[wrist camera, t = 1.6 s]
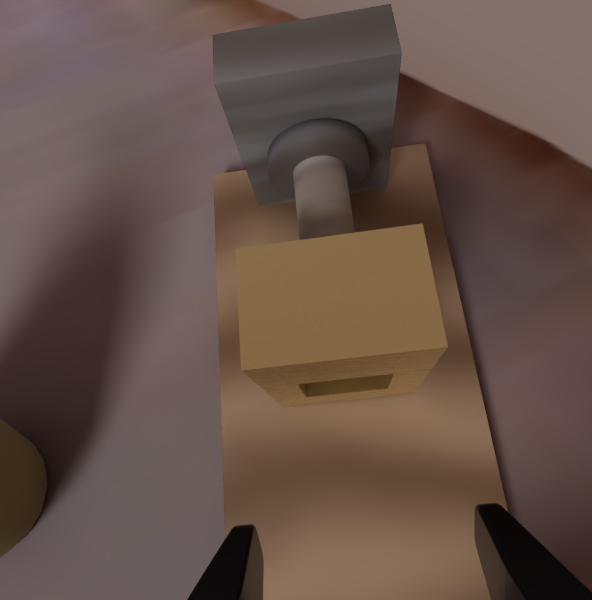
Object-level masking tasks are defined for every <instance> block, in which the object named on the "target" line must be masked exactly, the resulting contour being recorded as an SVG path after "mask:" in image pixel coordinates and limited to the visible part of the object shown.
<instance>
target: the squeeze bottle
mask: <svg viewBox="0 0 592 600" xmlns="http://www.w3.org/2000/svg"><path fill="white" fill-rule="evenodd" d="M46 490H47V477H46V469H45V462H44V460H43V458H42V457H41V455H40V453H39V452H38V450H37V448H36V447H35V445H34V444H33V443H32V442H31V441H29V440H28V439H27V438H25V437H24V436H23V435H22V434H20V433H19V432H18V431H16V430H15V429H14V428H12V427H11V426H10V425H8V424H7V423H6V422H4V421H3V420H2V419H0V558H1V557H2V556H3V555H4V554H6V553H7V552H8V551H9V550H11V549H12V548H13V547H14V546H15V545H16V544H17V543H19V542H20V541H21V540H22V539H23V538H24V537H25V536H27V535H28V533H29V532H30V530H31V528H32V527H33V525H34V523H35V522H36V520H37V518H38V516H39V515H40V513H41V511H42V508H43V503H44V499H45V494H46Z"/></svg>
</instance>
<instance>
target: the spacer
mask: <svg viewBox="0 0 592 600" xmlns="http://www.w3.org/2000/svg"><path fill="white" fill-rule="evenodd" d="M235 254H236V275H237V295H238V316H239V337H240V358H241V371H242V372H243V373H245V374H246V375H247V376H248V377H249V378H250V379H251V380H253V381H254V382H255V383H256V384H257V385H258V386H259V387H261V388H262V389H263V390H264V391H265V392H266V393H268V394H269V395H270V396H271V397H272V398H273V399H274V400H276V401H277V402H278V403H279V404H280V405H281V406H282V407H290V406H299V405H309V404H318V403H327V402H337V401H346V400H355V399H365V398H374V397H384V396H393V395H402V394H412V393H414V392H415V391H416V389H417V388H418V387H419V385H420V384H421V383H422V381H423V380H424V379H425V377H426V376H427V375H428V373H429V372H430V371H431V369H432V368H433V367H434V365H435V364H436V363H437V361H438V360H439V359H440V357H441V356H442V354H443V353H444V352H445V350H446V349H447V348H448V344H447V339H446V334H445V329H444V325H443V320H442V315H441V310H440V305H439V300H438V296H437V291H436V286H435V281H434V276H433V271H432V267H431V262H430V257H429V252H428V247H427V242H426V238H425V233H424V228H423V223H422V224H415V225H407V226H400V227H392V228H385V229H378V230H370V231H363V232H355V233H348V234H341V235H333V236H326V237H318V238H311V239H304V240H296V241H289V242H282V243H274V244H267V245H259V246H252V247H245V248H237V249H235Z"/></svg>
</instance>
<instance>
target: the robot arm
mask: <svg viewBox="0 0 592 600" xmlns="http://www.w3.org/2000/svg"><path fill="white" fill-rule="evenodd" d="M474 537H475V544H476V548H477V552H478V555H479V559H480V562H481V566H482V570H483V573H484V577H485V580H486V584H487V587H488V591H489V594H490V598H491V600H592V592H591V591H590V590H589V589H588V588H587V587H586V586H585V585H584V584H583V583H581V582H580V581H579V580H578V579H577V578H576V577H575V576H574V575H573V574H572V573H571V572H570V571H569V570H568V569H567V568H566V567H565V566H564V565H563V564H562V563H561V562H560V561H559V560H558V559H556V558H555V557H554V556H553V555H552V554H551V553H550V552H549V551H548V550H547V549H546V548H545V547H544V546H543V545H542V544H541V543H540V542H539V541H538V540H537V539H536V538H535V537H534V536H533V535H531V534H530V533H529V532H528V531H527V530H526V529H525V528H524V527H523V526H522V525H521V524H520V523H519V522H518V521H517V520H516V519H515V518H514V517H513V516H512V515H511V514H510V513H509V512H508V511H506V510H505V509H504V508H503V507H502V506H501V505H500V504H498V503H486V504H478V505H476V507H475V519H474ZM263 578H264V560H263V552H262V548H261V544H260V541H259V537H258V533H257V529H256V527H255V526H254V525H253V524H246V525H237V526H234V527H233V528H232V529H231V531H230V532H229V534H228V535H227V537H226V539H225V540H224V542H223V543H222V545H221V547H220V548H219V550H218V551H217V553H216V554H215V556H214V558H213V559H212V561H211V562H210V564H209V566H208V567H207V569H206V570H205V572H204V574H203V575H202V577H201V578H200V580H199V582H198V583H197V585H196V586H195V588H194V590H193V591H192V593H191V594H190V596H189V598H188V599H187V600H263Z"/></svg>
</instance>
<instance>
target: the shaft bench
mask: <svg viewBox="0 0 592 600" xmlns="http://www.w3.org/2000/svg"><path fill="white" fill-rule="evenodd" d="M212 36H213V64H214V85H215V87H216V90H217V93H218V96H219V98H220V101H221V104H222V107H223V109H224V112H225V115H226V117H227V120H228V123H229V126H230V128H231V131H232V134H233V136H234V139H235V142H236V145H237V147H238V150H239V153H240V156H241V158H242V161H243V164H244V166H245V169H246V170H241V171H234V172H227V173H221V174H214V205H215V236H216V267H217V298H218V329H219V360H220V391H221V422H222V453H223V483H224V514H225V539H226V537H227V535H228V534H229V532H230V531H231V529H232V528H233V527H234V526H237V525H246V524H253V525H254V526H255V527H256V529H257V533H258V537H259V541H260V544H261V548H262V552H263V560H264V578H263V600H491V598H490V594H489V591H488V587H487V584H486V580H485V577H484V573H483V570H482V566H481V562H480V559H479V555H478V552H477V548H476V544H475V537H474V519H475V507H476V505H478V504H486V503H498V504H500V505H501V506H502V507H503V508H504V509H505V510H506V511H508V509H507V505H506V500H505V496H504V491H503V487H502V482H501V478H500V474H499V469H498V465H497V460H496V456H495V451H494V447H493V442H492V438H491V433H490V429H489V425H488V420H487V416H486V411H485V407H484V402H483V398H482V393H481V389H480V384H479V380H478V375H477V371H476V367H475V362H474V358H473V353H472V349H471V344H470V340H469V335H468V331H467V326H466V322H465V317H464V313H463V309H462V304H461V300H460V295H459V291H458V286H457V282H456V277H455V273H454V268H453V264H452V260H451V255H450V251H449V246H448V242H447V237H446V233H445V228H444V224H443V219H442V215H441V210H440V206H439V202H438V197H437V193H436V188H435V184H434V179H433V175H432V170H431V166H430V161H429V157H428V152H427V148H426V144H425V143H422V144H416V145H409V146H402V147H395V148H391V146H392V137H393V128H394V118H395V109H396V100H397V91H398V82H399V72H400V63H401V54H402V53H401V48H400V44H399V39H398V34H397V30H396V26H395V21H394V16H393V12H392V7H391V4H388V5H382V6H377V7H370V8H364V9H359V10H354V11H347V12H341V13H336V14H330V15H324V16H319V17H313V18H307V19H301V20H295V21H290V22H284V23H278V24H272V25H266V26H261V27H255V28H249V29H243V30H238V31H232V32H226V33H220V34H215V35H212ZM422 223H423V228H424V233H425V238H426V242H427V247H428V252H429V257H430V262H431V267H432V271H433V276H434V281H435V286H436V291H437V296H438V300H439V305H440V310H441V315H442V320H443V325H444V329H445V334H446V339H447V344H448V348H447V349H446V350H445V352H444V353H443V354H442V356H441V357H440V359H439V360H438V361H437V363H436V364H435V365H434V367H433V368H432V369H431V371H430V372H429V373H428V375H427V376H426V377H425V379H424V380H423V381H422V383H421V384H420V385H419V387H418V388H417V389H416V391H415V392H414V393H412V394H402V395H393V396H384V397H374V398H365V399H355V400H346V401H337V402H327V403H318V404H309V405H299V406H290V407H282V406H281V405H280V404H279V403H278V402H277V401H276V400H274V399H273V398H272V397H271V396H270V395H269V394H268V393H266V392H265V391H264V390H263V389H262V388H261V387H259V386H258V385H257V384H256V383H255V382H254V381H253V380H251V379H250V378H249V377H248V376H247V375H246V374H245V373H243V372H242V371H241V358H240V337H239V316H238V295H237V275H236V254H235V249H237V248H245V247H252V246H259V245H267V244H274V243H282V242H289V241H296V240H304V239H311V238H318V237H326V236H333V235H341V234H348V233H355V232H363V231H370V230H378V229H385V228H392V227H400V226H407V225H415V224H422Z"/></svg>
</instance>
